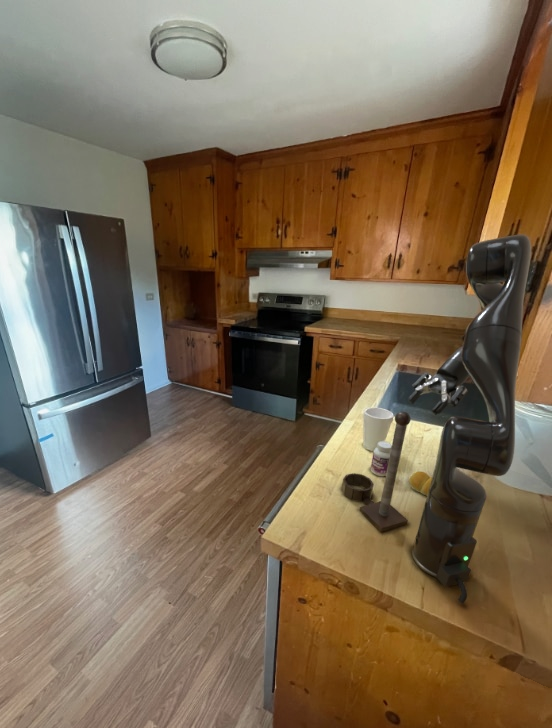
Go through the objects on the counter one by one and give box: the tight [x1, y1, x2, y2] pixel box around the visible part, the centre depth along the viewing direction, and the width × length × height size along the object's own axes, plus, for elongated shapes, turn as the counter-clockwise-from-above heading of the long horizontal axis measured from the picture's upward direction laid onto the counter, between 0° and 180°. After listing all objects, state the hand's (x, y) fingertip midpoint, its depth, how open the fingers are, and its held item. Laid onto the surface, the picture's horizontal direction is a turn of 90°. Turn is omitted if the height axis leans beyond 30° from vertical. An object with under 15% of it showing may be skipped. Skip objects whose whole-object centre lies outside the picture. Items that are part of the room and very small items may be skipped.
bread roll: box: [407, 471, 432, 497], centre depth 93 cm, size 8×9×4 cm
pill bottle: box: [370, 441, 392, 477], centre depth 99 cm, size 5×5×10 cm
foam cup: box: [362, 406, 395, 452], centre depth 113 cm, size 10×9×13 cm
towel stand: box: [341, 411, 412, 533], centre depth 82 cm, size 18×8×29 cm, turn 21°
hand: (421, 407), depth 96 cm, fingers open, 8 cm apart
